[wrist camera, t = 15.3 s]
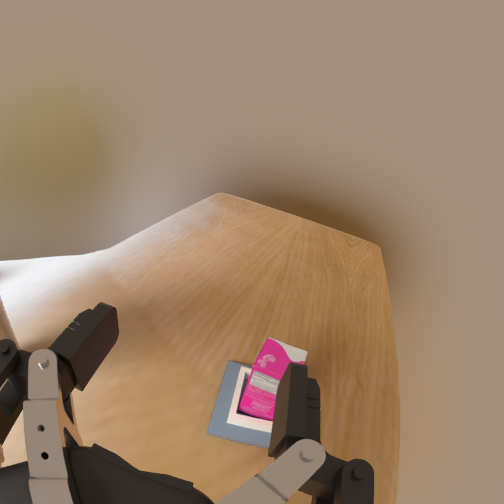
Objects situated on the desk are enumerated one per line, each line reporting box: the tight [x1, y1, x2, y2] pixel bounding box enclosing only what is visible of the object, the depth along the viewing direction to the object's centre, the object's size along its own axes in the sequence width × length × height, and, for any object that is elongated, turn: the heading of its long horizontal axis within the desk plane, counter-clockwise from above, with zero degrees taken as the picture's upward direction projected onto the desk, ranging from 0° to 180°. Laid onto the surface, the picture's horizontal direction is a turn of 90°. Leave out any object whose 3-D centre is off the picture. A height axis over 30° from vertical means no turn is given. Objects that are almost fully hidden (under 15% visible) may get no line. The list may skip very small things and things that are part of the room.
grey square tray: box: [207, 361, 273, 448], centre depth 38 cm, size 14×14×3 cm
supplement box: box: [238, 337, 308, 422], centre depth 35 cm, size 6×6×12 cm
